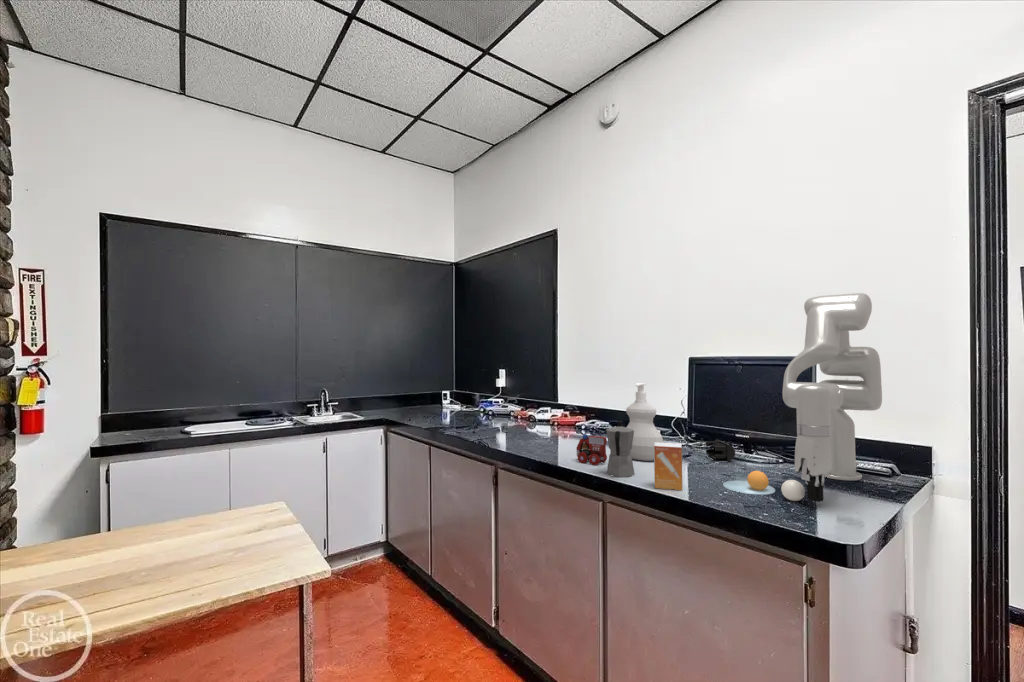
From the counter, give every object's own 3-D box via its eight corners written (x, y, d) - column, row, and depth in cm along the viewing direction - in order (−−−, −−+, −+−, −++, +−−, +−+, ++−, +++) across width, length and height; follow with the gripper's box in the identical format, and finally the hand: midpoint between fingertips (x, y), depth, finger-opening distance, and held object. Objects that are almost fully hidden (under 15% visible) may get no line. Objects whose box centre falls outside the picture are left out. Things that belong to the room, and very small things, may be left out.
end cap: (735, 462, 169) (735, 444, 169) (716, 462, 169) (716, 444, 169) (723, 456, 179) (723, 439, 179) (705, 456, 179) (705, 439, 179)
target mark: (741, 478, 147) (741, 478, 147) (785, 490, 135) (785, 489, 135) (713, 485, 140) (713, 484, 140) (756, 497, 128) (756, 496, 128)
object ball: (774, 489, 133) (757, 489, 138) (770, 469, 135) (753, 470, 139) (762, 491, 131) (745, 491, 135) (758, 471, 132) (741, 471, 137)
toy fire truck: (582, 458, 178) (582, 431, 178) (611, 463, 170) (610, 435, 170) (572, 461, 172) (572, 434, 173) (601, 467, 164) (601, 438, 165)
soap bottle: (615, 458, 177) (614, 383, 177) (627, 453, 186) (626, 381, 186) (657, 464, 166) (656, 384, 167) (668, 459, 175) (667, 382, 176)
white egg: (812, 486, 124) (803, 502, 126) (791, 473, 128) (783, 489, 130) (803, 491, 121) (794, 507, 123) (783, 477, 125) (774, 493, 127)
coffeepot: (609, 468, 162) (608, 417, 163) (636, 470, 159) (635, 418, 160) (602, 479, 148) (602, 424, 148) (632, 482, 144) (631, 425, 145)
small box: (654, 488, 137) (653, 445, 138) (654, 483, 143) (653, 441, 144) (683, 491, 135) (682, 447, 135) (681, 485, 141) (681, 442, 141)
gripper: (813, 426, 128) (815, 492, 128) (783, 431, 121) (784, 500, 121) (843, 430, 122) (845, 499, 121) (813, 436, 114) (815, 509, 114)
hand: (815, 500), depth 121 cm, fingers closed
